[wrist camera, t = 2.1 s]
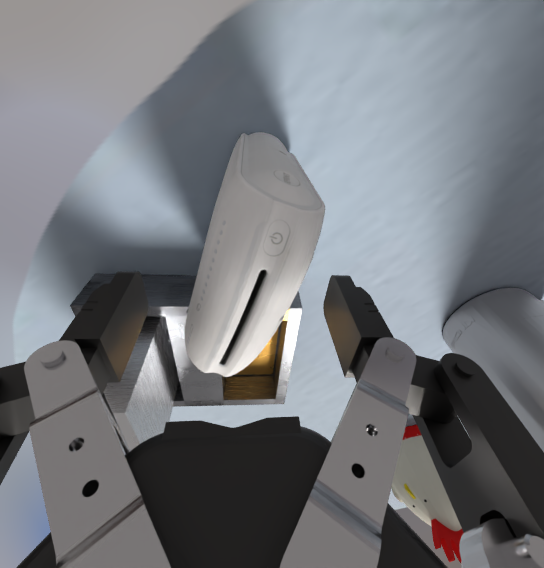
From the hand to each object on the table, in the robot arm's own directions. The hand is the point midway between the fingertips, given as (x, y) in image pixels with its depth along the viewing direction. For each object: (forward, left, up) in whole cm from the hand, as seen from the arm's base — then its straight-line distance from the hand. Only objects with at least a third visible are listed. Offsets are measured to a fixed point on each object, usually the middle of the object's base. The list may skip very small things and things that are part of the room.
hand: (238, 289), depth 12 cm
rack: (+4, +14, -10) cm, 18 cm away
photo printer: (0, 0, -11) cm, 11 cm away
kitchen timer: (-30, +42, -11) cm, 53 cm away
